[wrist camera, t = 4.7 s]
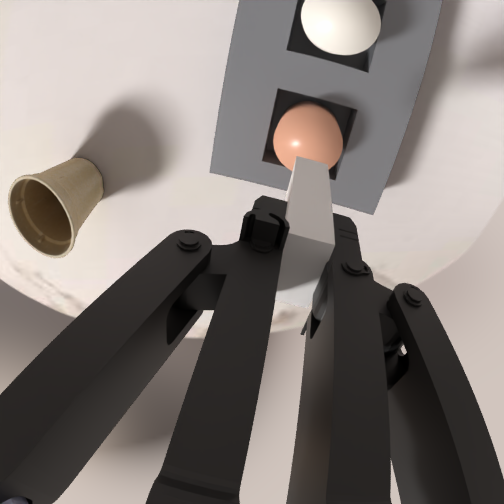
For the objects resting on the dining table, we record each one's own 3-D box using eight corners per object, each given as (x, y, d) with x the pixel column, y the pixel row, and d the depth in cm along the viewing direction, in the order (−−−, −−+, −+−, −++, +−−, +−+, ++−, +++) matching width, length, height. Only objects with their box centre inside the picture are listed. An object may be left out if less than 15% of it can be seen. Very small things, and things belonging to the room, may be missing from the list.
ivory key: (309, -13, 17) (309, -25, 13) (375, 6, 17) (387, -2, 13) (296, 44, 20) (293, 43, 16) (361, 62, 19) (370, 65, 16)
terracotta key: (286, 94, 23) (281, 102, 20) (345, 110, 23) (351, 121, 20) (273, 149, 26) (267, 165, 23) (329, 163, 26) (331, 182, 23)
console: (279, -114, 13) (273, -133, 9) (439, -70, 12) (455, -82, 9) (221, 156, 29) (209, 172, 26) (366, 194, 29) (373, 215, 26)
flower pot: (126, 164, 31) (78, 202, 25) (108, 228, 37) (70, 273, 30) (61, 131, 30) (8, 161, 23) (51, 196, 36) (9, 232, 29)
